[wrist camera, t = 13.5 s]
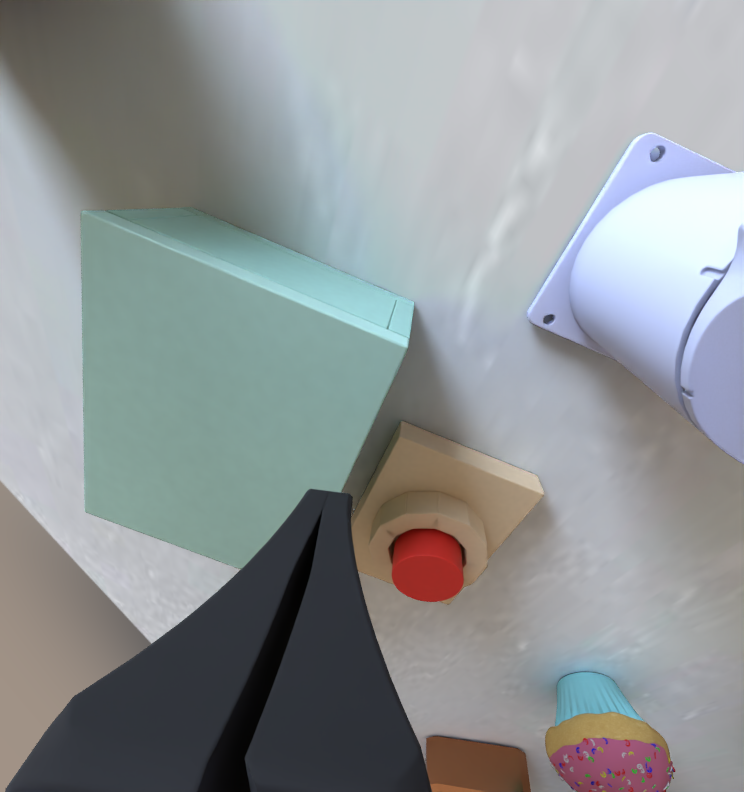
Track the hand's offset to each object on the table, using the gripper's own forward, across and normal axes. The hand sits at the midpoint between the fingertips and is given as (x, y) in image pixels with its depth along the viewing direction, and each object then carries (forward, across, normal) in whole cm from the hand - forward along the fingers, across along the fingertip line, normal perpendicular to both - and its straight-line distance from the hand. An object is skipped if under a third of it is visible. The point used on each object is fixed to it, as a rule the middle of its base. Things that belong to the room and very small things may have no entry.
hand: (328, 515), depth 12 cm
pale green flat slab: (+5, +6, +1) cm, 8 cm away
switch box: (+10, -5, +9) cm, 15 cm away
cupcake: (+10, -21, +27) cm, 36 cm away
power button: (+7, -5, +9) cm, 13 cm away
